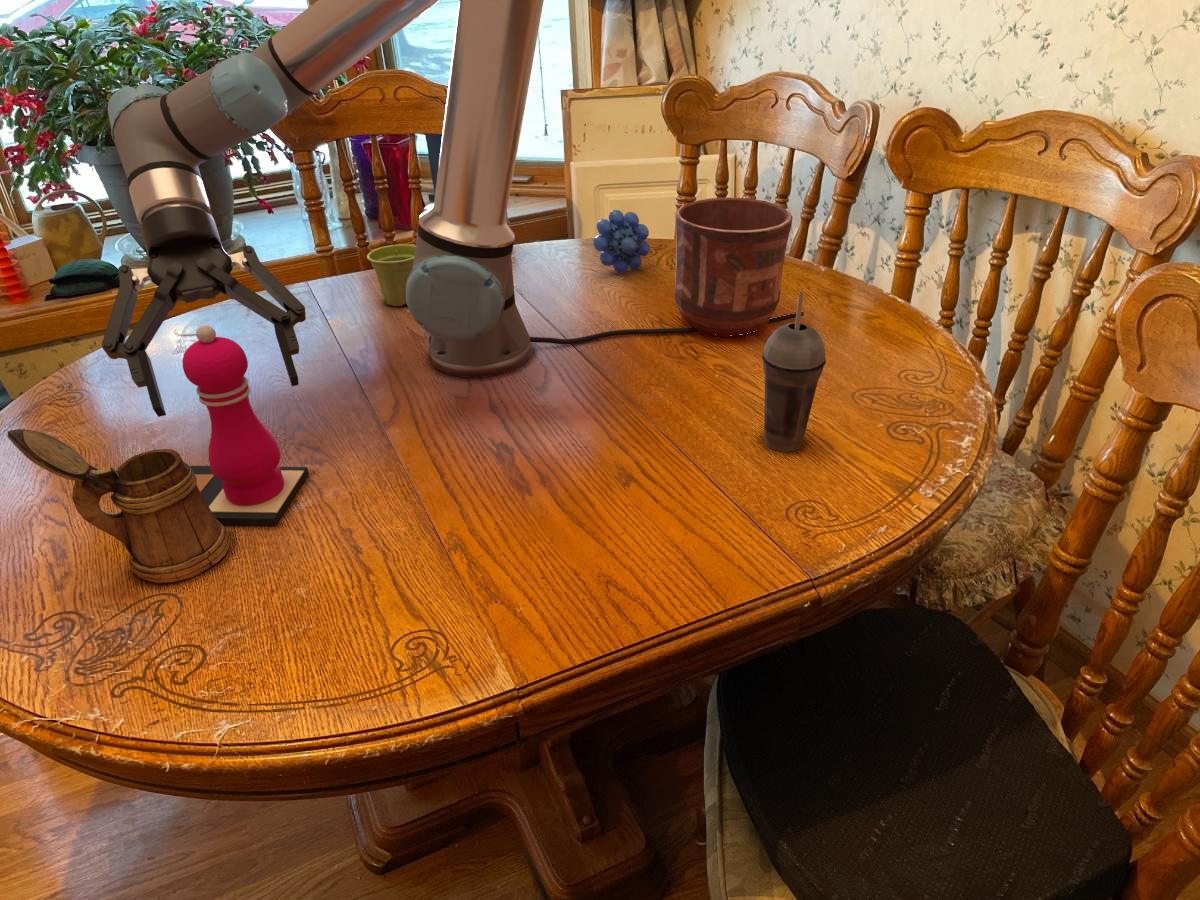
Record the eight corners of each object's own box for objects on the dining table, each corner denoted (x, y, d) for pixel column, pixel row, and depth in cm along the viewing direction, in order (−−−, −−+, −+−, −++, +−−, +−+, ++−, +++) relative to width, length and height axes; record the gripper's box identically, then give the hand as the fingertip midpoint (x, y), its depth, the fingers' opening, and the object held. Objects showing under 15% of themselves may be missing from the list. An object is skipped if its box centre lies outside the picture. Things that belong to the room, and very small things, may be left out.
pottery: (796, 315, 129) (810, 205, 119) (754, 356, 116) (766, 237, 107) (700, 295, 137) (705, 191, 127) (651, 331, 125) (653, 219, 115)
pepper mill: (267, 512, 84) (213, 343, 74) (207, 505, 86) (147, 338, 75) (301, 475, 90) (256, 314, 79) (245, 468, 92) (194, 309, 81)
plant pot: (364, 306, 136) (355, 258, 131) (396, 288, 143) (388, 241, 138) (410, 313, 133) (402, 264, 128) (439, 294, 140) (433, 247, 135)
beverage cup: (816, 431, 98) (839, 279, 87) (809, 462, 92) (833, 304, 81) (758, 422, 100) (774, 273, 89) (748, 452, 94) (764, 296, 84)
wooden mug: (82, 561, 80) (6, 410, 70) (222, 517, 86) (169, 371, 76) (86, 614, 73) (2, 455, 64) (237, 562, 79) (182, 409, 69)
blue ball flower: (604, 285, 142) (603, 219, 136) (588, 273, 147) (586, 210, 141) (660, 274, 146) (661, 210, 140) (642, 263, 151) (643, 201, 145)
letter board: (309, 473, 93) (307, 465, 92) (275, 526, 84) (273, 517, 84) (186, 472, 93) (184, 464, 93) (141, 524, 85) (138, 515, 84)
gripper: (294, 222, 95) (345, 381, 92) (59, 257, 85) (108, 436, 82) (291, 187, 88) (346, 357, 85) (35, 221, 78) (87, 415, 75)
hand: (229, 396), depth 84 cm, fingers open, 13 cm apart
